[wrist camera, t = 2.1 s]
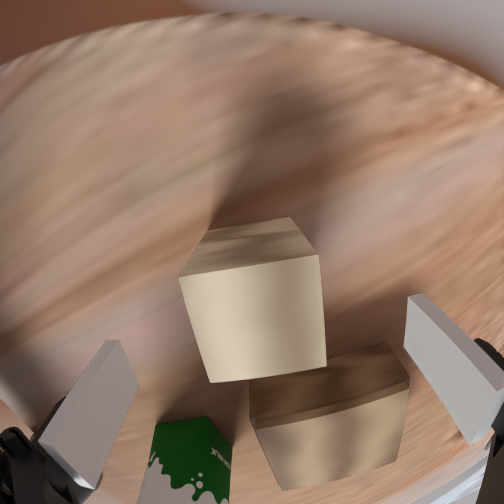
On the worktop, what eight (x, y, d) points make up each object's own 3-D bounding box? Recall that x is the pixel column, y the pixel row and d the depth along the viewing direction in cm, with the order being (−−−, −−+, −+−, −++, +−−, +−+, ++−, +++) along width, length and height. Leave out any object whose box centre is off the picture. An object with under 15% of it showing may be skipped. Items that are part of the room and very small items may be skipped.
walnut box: (276, 449, 31) (279, 492, 25) (249, 374, 27) (249, 427, 21) (381, 422, 30) (398, 461, 24) (385, 340, 27) (414, 383, 20)
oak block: (223, 304, 25) (210, 382, 15) (207, 230, 23) (178, 277, 13) (299, 292, 25) (326, 366, 15) (289, 216, 23) (318, 254, 13)
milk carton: (242, 449, 31) (239, 589, 12) (180, 458, 32) (159, 582, 13) (210, 409, 28) (189, 579, 9) (144, 420, 29) (100, 560, 10)
